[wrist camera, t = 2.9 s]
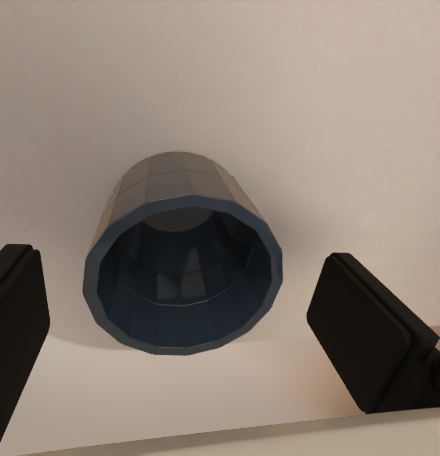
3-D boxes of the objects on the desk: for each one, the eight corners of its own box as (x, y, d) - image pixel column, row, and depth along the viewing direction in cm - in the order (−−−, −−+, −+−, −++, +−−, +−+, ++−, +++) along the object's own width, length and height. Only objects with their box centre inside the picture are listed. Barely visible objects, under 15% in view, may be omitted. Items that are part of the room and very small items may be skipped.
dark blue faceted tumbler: (81, 237, 13) (45, 318, 9) (158, 119, 12) (159, 149, 7) (194, 290, 16) (208, 374, 11) (269, 201, 14) (319, 259, 10)
